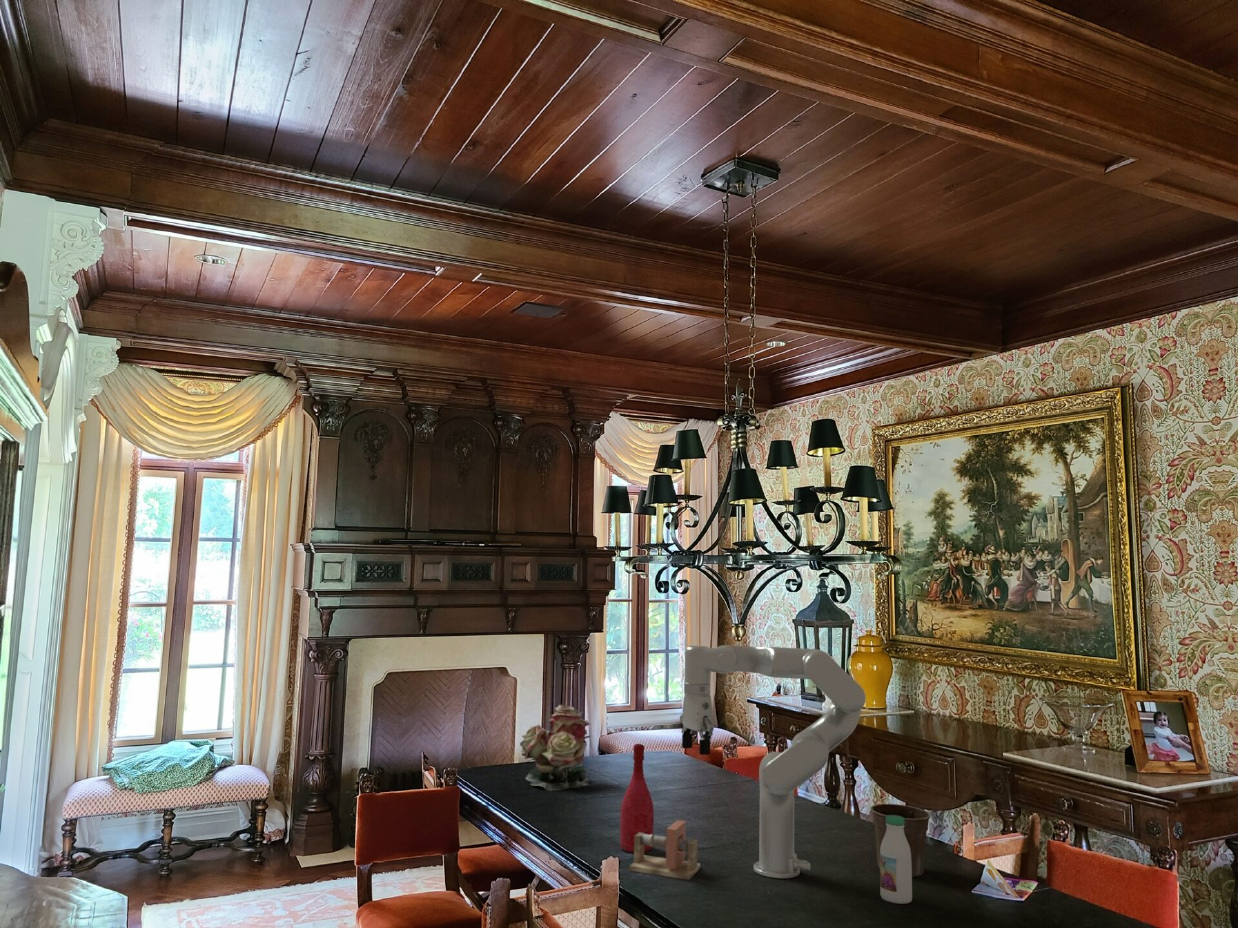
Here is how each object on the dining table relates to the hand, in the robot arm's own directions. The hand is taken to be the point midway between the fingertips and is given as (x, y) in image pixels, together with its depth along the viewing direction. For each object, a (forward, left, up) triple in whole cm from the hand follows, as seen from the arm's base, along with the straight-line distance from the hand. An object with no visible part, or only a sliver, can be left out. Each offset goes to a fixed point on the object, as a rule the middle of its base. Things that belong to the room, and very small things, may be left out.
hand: (695, 751), depth 244 cm
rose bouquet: (+77, -75, -31) cm, 112 cm away
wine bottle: (+20, -8, -31) cm, 38 cm away
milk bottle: (-54, +2, -31) cm, 62 cm away
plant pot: (-54, -23, -31) cm, 66 cm away
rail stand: (+6, +6, -31) cm, 32 cm away
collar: (+3, +6, -29) cm, 30 cm away
